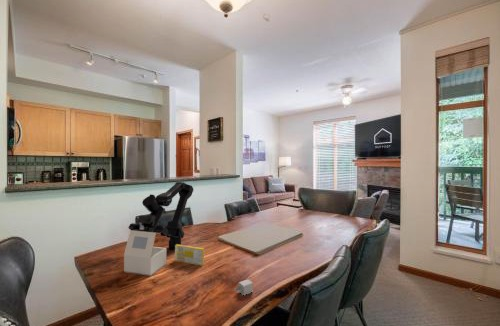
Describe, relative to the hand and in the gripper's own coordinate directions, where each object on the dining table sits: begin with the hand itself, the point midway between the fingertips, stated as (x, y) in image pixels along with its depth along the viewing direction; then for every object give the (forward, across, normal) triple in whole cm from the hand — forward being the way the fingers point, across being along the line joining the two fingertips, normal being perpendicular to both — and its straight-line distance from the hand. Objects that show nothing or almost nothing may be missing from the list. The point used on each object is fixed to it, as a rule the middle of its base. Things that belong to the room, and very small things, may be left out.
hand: (140, 246), depth 106 cm
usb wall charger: (+12, +50, +5) cm, 52 cm away
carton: (+6, 0, +11) cm, 13 cm away
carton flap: (-1, 0, -1) cm, 1 cm away
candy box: (-1, +17, +19) cm, 26 cm away
